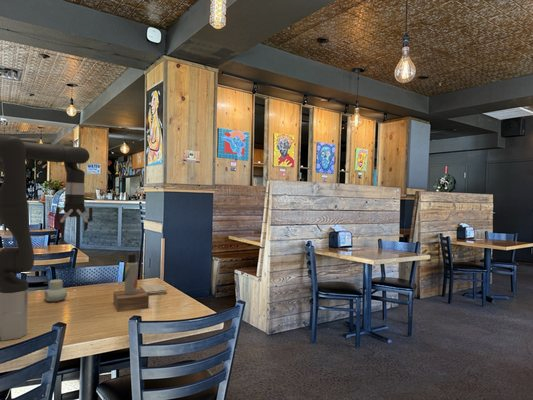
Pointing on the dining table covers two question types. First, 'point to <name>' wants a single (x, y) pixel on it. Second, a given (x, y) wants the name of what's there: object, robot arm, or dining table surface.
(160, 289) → the washcloth
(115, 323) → the dining table surface
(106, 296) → the dining table surface
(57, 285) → the air freshener
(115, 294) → the block
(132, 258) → the lotion bottle
